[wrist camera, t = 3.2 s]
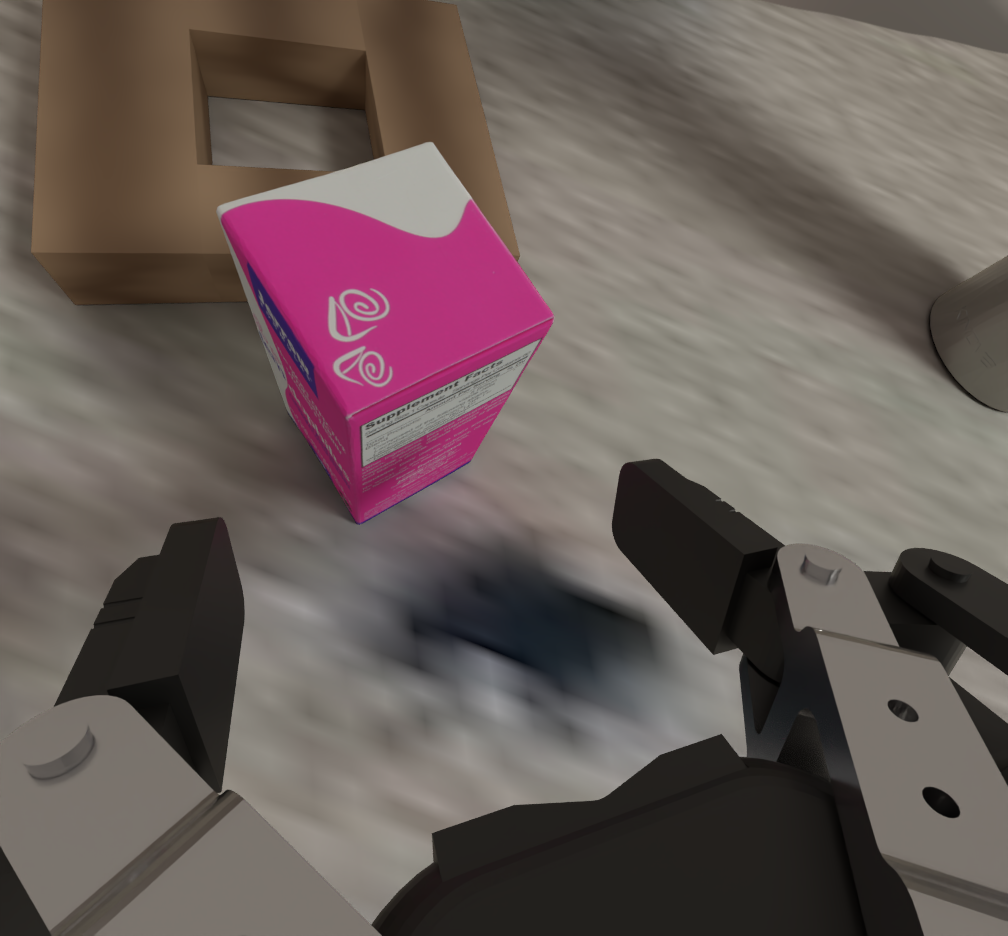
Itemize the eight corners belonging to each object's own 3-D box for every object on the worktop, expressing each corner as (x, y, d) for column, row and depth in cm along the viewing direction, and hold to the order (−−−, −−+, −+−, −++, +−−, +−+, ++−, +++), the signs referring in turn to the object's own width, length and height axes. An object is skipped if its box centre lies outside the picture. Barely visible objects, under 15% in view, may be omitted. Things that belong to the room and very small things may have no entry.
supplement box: (281, 414, 21) (204, 192, 11) (405, 359, 24) (442, 129, 13) (353, 533, 21) (345, 417, 10) (474, 463, 23) (572, 310, 12)
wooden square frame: (447, 62, 30) (456, 4, 27) (503, 296, 26) (520, 255, 23) (80, 18, 25) (45, -60, 22) (75, 304, 21) (31, 252, 18)
